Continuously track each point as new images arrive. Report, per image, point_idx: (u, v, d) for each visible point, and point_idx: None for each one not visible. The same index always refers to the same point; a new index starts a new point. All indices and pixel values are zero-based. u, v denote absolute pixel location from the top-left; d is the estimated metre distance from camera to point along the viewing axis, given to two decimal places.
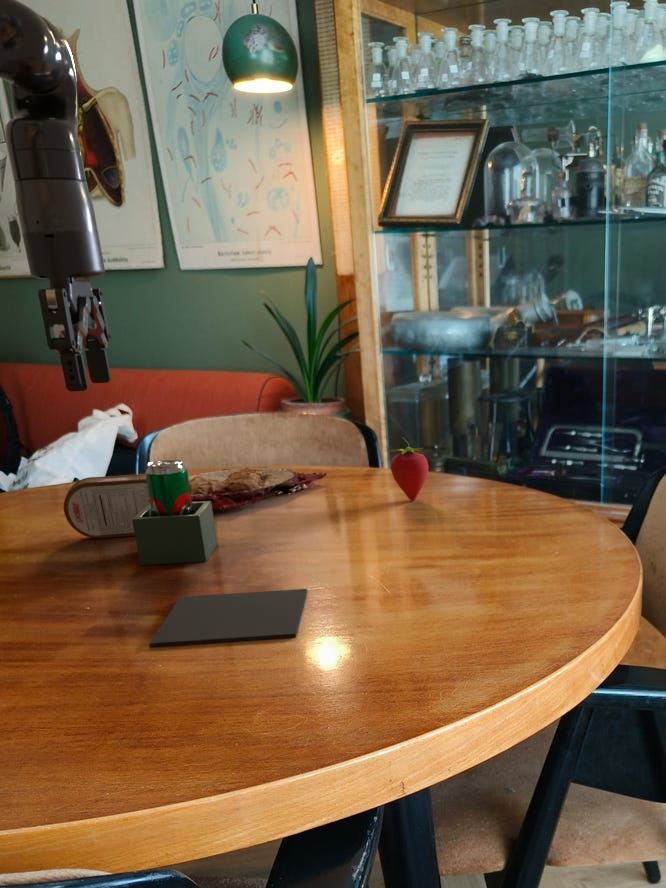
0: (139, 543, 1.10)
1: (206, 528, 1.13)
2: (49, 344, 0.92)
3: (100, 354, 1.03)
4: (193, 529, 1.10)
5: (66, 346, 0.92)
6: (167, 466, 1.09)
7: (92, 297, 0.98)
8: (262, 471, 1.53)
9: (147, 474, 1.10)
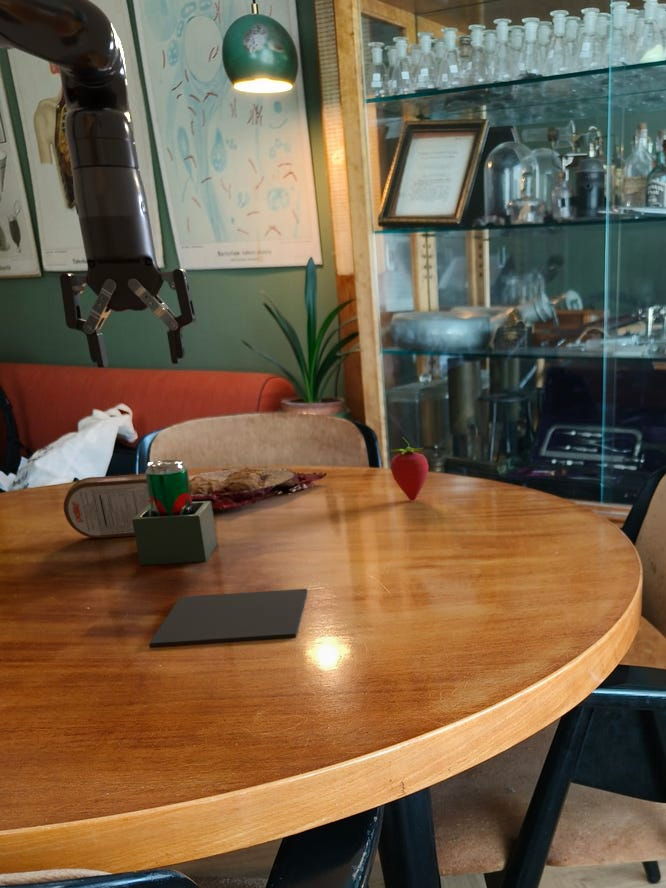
0: (139, 543, 1.10)
1: (206, 528, 1.13)
2: None
3: None
4: (193, 529, 1.10)
5: None
6: (167, 466, 1.09)
7: (129, 280, 1.00)
8: (262, 471, 1.53)
9: (147, 474, 1.10)
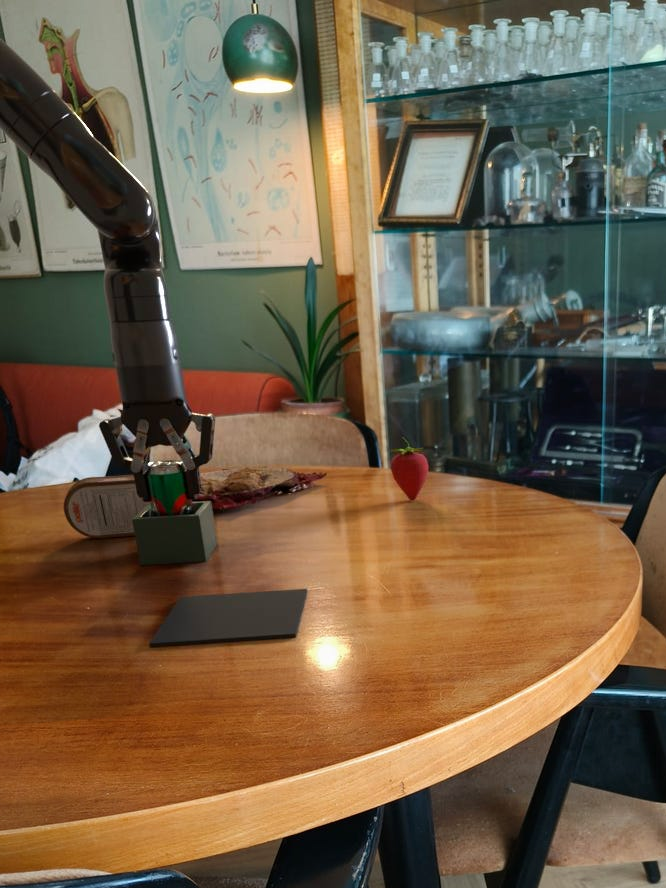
0: (139, 543, 1.10)
1: (206, 528, 1.13)
2: None
3: None
4: (193, 529, 1.10)
5: None
6: (167, 466, 1.09)
7: (162, 419, 1.07)
8: (262, 471, 1.53)
9: (147, 474, 1.10)
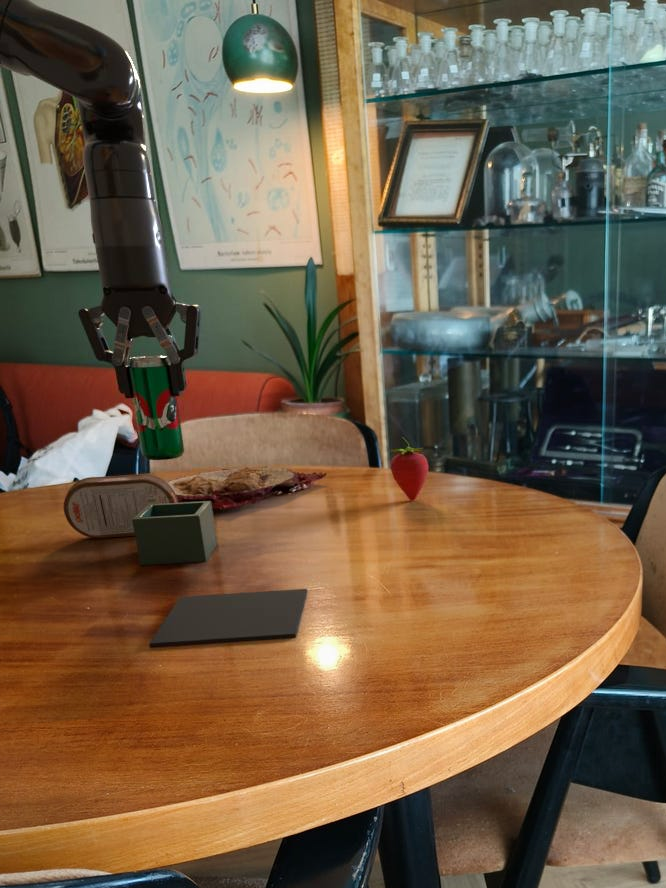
0: (139, 543, 1.10)
1: (206, 528, 1.13)
2: None
3: None
4: (193, 529, 1.10)
5: None
6: (150, 358, 1.04)
7: (145, 306, 1.02)
8: (262, 471, 1.53)
9: (129, 367, 1.05)
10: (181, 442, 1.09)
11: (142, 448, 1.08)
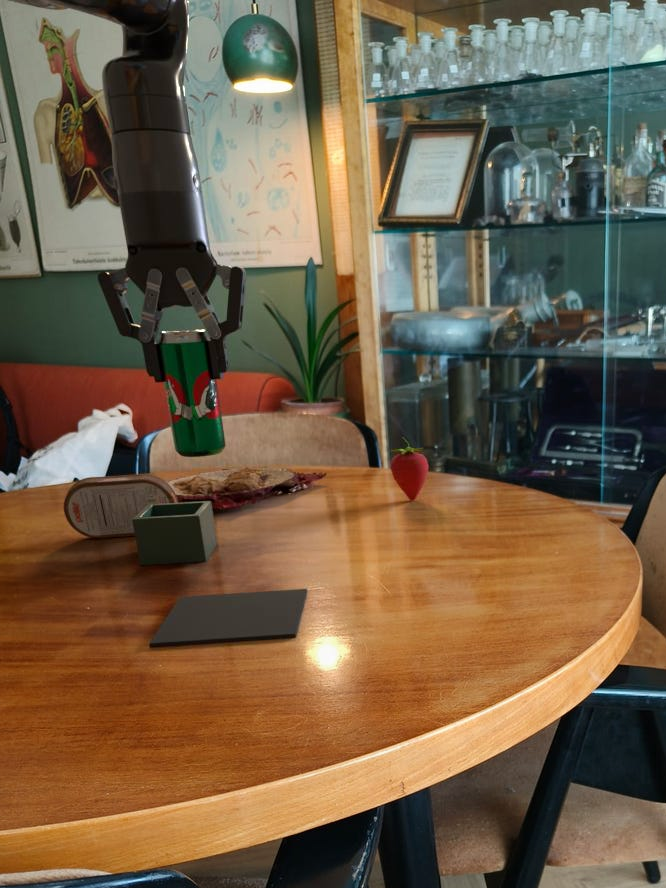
0: (139, 543, 1.10)
1: (206, 528, 1.13)
2: None
3: None
4: (193, 529, 1.10)
5: None
6: (186, 333, 0.85)
7: (179, 268, 0.83)
8: (262, 471, 1.53)
9: (160, 344, 0.86)
10: (222, 435, 0.90)
11: (175, 442, 0.89)
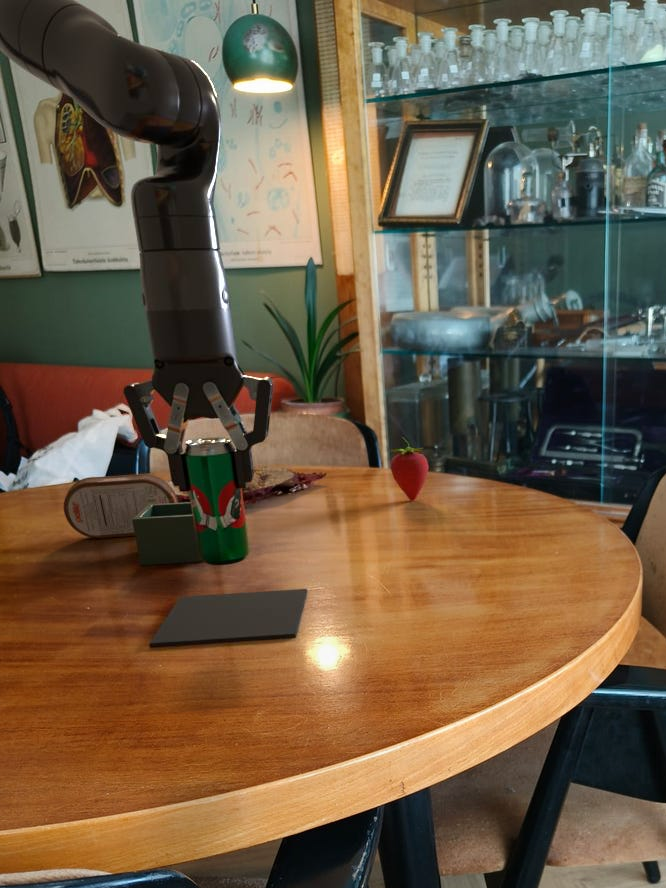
0: (139, 543, 1.10)
1: None
2: None
3: (235, 455, 0.86)
4: (193, 529, 1.10)
5: None
6: (212, 445, 0.84)
7: None
8: (262, 471, 1.53)
9: (186, 455, 0.84)
10: (247, 542, 0.89)
11: (200, 550, 0.88)
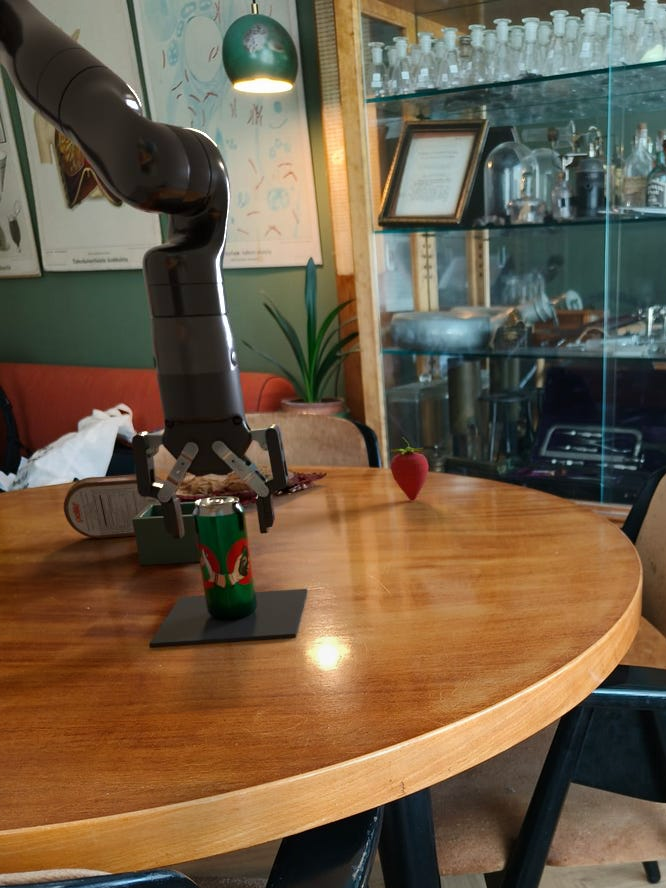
0: (139, 543, 1.10)
1: None
2: None
3: None
4: (193, 529, 1.10)
5: None
6: (221, 506, 0.86)
7: (214, 442, 0.84)
8: (262, 471, 1.53)
9: (195, 515, 0.87)
10: (254, 597, 0.91)
11: (208, 606, 0.90)
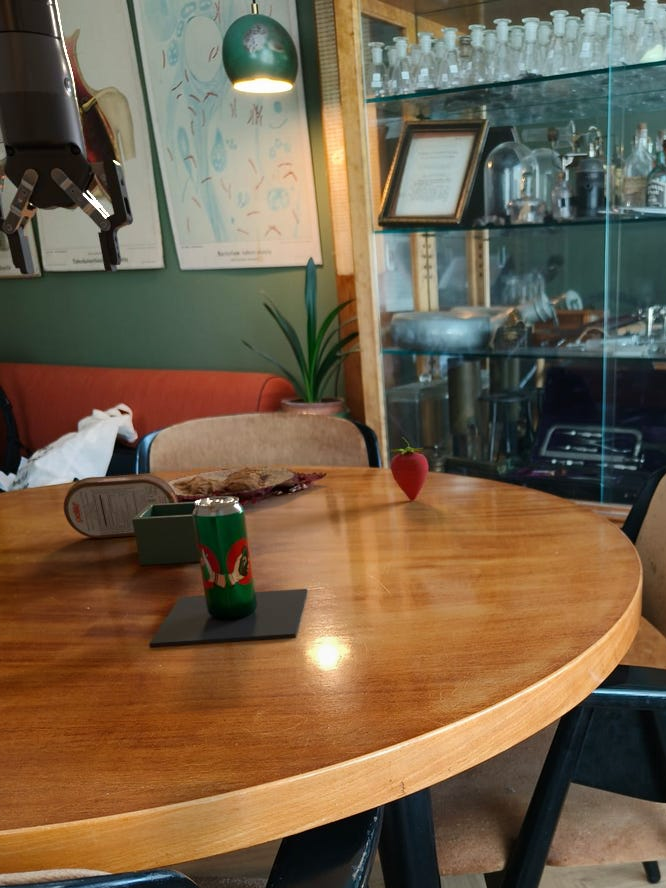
0: (139, 543, 1.10)
1: None
2: None
3: None
4: (193, 529, 1.10)
5: None
6: (220, 506, 0.86)
7: (53, 170, 0.88)
8: (262, 471, 1.53)
9: (195, 515, 0.87)
10: (254, 597, 0.91)
11: (208, 606, 0.90)
